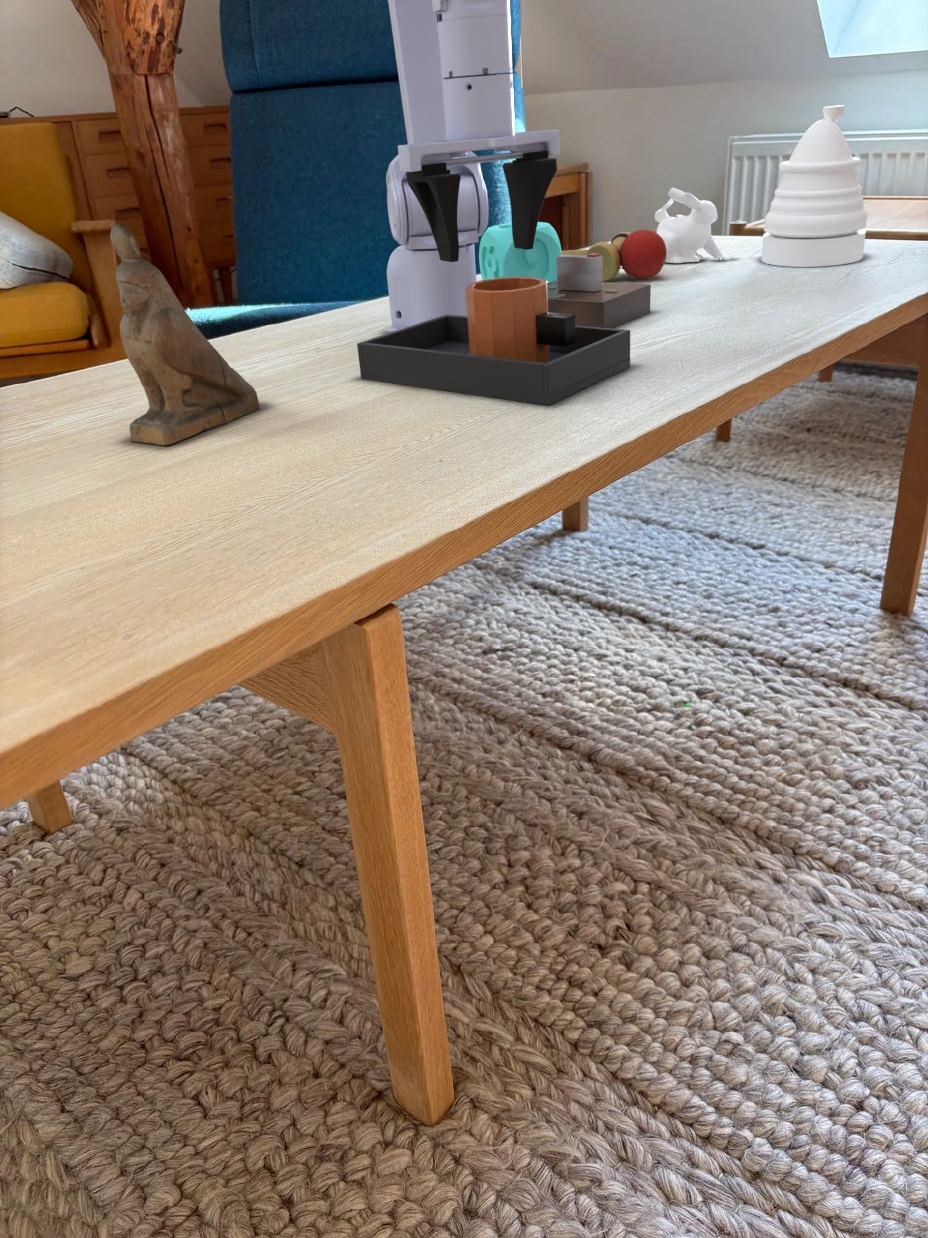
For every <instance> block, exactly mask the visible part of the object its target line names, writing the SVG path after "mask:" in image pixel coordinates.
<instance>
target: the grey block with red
mask: <svg viewBox="0 0 928 1238" xmlns="http://www.w3.org/2000/svg"><path fill="white" fill-rule="evenodd" d="M603 282H604V281H603V256H600V253H591V254H588V255H569V254H563V255H560V256H557V289H558V290H574V291H590V292H597V291H600V290H602V289H603Z"/></svg>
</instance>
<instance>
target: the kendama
mask: <svg viewBox="0 0 928 1238" xmlns="http://www.w3.org/2000/svg"><path fill="white" fill-rule="evenodd" d="M656 232H657V231H656ZM656 232H655V230H651V229H642V228H641V229H637V230H635V231H632V232H630V231H621V232H619V233H617V234H615V235H614V237H613V238H612V239H611V241H610V243H609V242H607V241H598V242H597V243H595V244H593V245H591V246H590V247H589V249H568V250H567V249H566V250H561V251H562V255H563V254H569V255H588V254H591V253H600V256H603V282H609V281H610V280H612V279H614V278H615V277H616V276H618V274H619V272H620V270H623V271H624V272H625V273H626V274H627V275H628V276H629V277H631V278H633V279H638V280H646V279H652V278H654V277H656V276H657V275H658V274H659V273H660V272H661V271H662V269H663V267H664V266H665V263H666V262H665V260H666V254H667V252H666V245H665V242H664V240H663V239H662V238H661V236H660V235H659V234H657V233H656Z"/></svg>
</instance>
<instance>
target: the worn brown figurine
mask: <svg viewBox="0 0 928 1238" xmlns="http://www.w3.org/2000/svg"><path fill="white" fill-rule="evenodd" d="M110 230H111V231H110V235H109V236H110V241H111V245H112V246H113V247H112V248H113V249H114V251H115V254H117V256H118V257H119V259H120V263H119V264H118V265H117V267H116V269H115V281H116V284H117V289H118V291H119V300H120V304H121V306H122V308H123V311H124V313H123V314H122V316H121V319H120V324H119V334H120V335H119V336H120V339H121V343H122V346H123V349H124V352H125V355H126V357H127V360H128V362H129V364H130V365H131V367H132V368H133V370H134V371H135V373H136V375H137V378H138V379H139V382H140V385H141V386H142V387H143V390H144V393H145V395H146V398H147V402H148V405H149V407H148V410H147V411H146V412H145V413H144V414H143V415H141V416H140V417H137V418H135V419H134V420H133V421H132V422H131V423H130V424H129V433H130V434H129V435H130V442H135V443H136V442H137V443H144V444H148V445H149V444H151V445H157V446H169V445H173V444H174V443H175V444H176V443H177V442H181V441H183V440H184V439H188V438H191V437H193V436H195V435H199V434H200V433H201V432H203V431H207V430H210V429H212V428H215V427H218V426H221V425H223V424H227V423H230V422H231V421H232V420H235V419H239V418H240V417H241V418H242V416H245V415H249V414H251V413H253V412H254V411H256V410H259V408H260V402H259V397H258V393H257V391H256V390H255V387H253V386H252V384H250V383H249V382H248V381H246V379H245V378H244V377H243V376H242V375H241V374H240V373H239V372H238V371H237V370H236V369H234V368H233V367H231V366H230V364H229V363H228V361H227V360H225V358H224V357H223V356H222V354H220V352H219V351H218V350H217V349H216V348H215V347H214V346H213V345H212V344H211V342H210V341H209V340H208V339H207V338H206V336H205V335H204V334H203V333H202V332H201V330H200V329H199V328H198V327H197V325H196V324H195V323H194V321H193V320H192V318H191V317H190V315H189V314H188V313H187V311H186V310H185V309H184V307H183V305H182V304H181V302H180V301H179V299H178V298H177V296H176V294H175V292H174V291H173V289H172V287H171V286H170V284H169V283H168V281H167V279H166V278H165V276H164V274H163V273H162V271H161V270H160V269H158V267H156V266H155V265H154V264H151V263H150V262H148V261H146V260H143V258H142V255H141V251H140V246H139V243H138V241H137V238H136V237H135V236H134V234H133V232H132V231H131V230H130V229H129V228H128V226H127V225H125V224H124V223H122V222H118V223H113V225H112V226H111V229H110Z"/></svg>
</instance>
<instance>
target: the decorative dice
mask: <svg viewBox="0 0 928 1238" xmlns="http://www.w3.org/2000/svg"><path fill="white" fill-rule="evenodd" d="M562 251H563V250H562V246H561V241H560V238H559V235H558V233H557V232H556V230H555V228H554V227H553V226H552V225H551V224H550V223H548V222H543V221H538V224H537V229H536V234H535V239H534V245H533V249H529V250H525V249H519V248H515V247H514V242H513V236H512V222H509V223H501V224H496V225H491V226H489V227H488V228H486V229H485V231H484V232H483V234H482V235H481V239H480V242H479V248H478V263H479V264H478V265H479V271H480V277H481V280H487V279H494V278H502V277H537V278H541V279H544V280H547V283H550V282H553V281H556V280H557V256H560V255H562Z"/></svg>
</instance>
